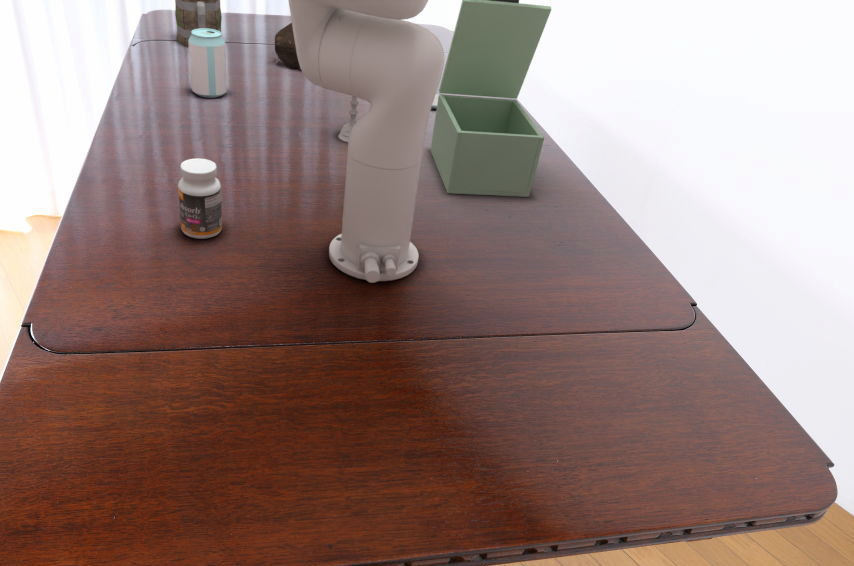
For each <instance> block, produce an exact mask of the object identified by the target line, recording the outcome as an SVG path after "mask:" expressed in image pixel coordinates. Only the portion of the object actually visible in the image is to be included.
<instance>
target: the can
mask: <svg viewBox="0 0 854 566" xmlns="http://www.w3.org/2000/svg"><path fill="white" fill-rule="evenodd" d="M191 33H192V35H191V36H190V38H189V40H188V42H189V47H188V54H189V55H188V56H189V68H190V69H189V70H190V85H191V91H192V92H193V93H195V95H198V96H199V97H203V98H207V99H208V98H209V99H211V98H212V99H214V98H220V97H222V96H224V95H225V94H226V93H227V92H228V77H227V75H228V73H227V51H226V50H227V48H226V47H227V46H226V40H225V39H224V37H223V36H222V35H223V33H222V31H221V32H220V31H218V30H214V29H207V28H200V29H194V30H192V31H191Z"/></svg>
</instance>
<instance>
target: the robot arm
mask: <svg viewBox="0 0 854 566" xmlns="http://www.w3.org/2000/svg"><path fill="white" fill-rule="evenodd" d="M428 2H429V0H288V5H289V6H288V7H289V13H290V17H291V18H290V19H291V23H292V26H293V33H294V39H295V46H296V52H297V57H298V62H299V65H300V68H301V69H300V70H301V73H302V74H303V76H304V78H306V79H307V81H308V82H310V83H311V84H313V85H315V86H317V87H320V88H322V89H325V90H329V91H332V92H336V93H339V94H344V95H348V96H351V97H352V96H354V97H357V99H359V100H363V101H366V102H368V103H369V104H370V107H369V109H368V110H367V111H366V112H365V113H364V114H363V115H362V116H361V117H360V118H358V119H357V121H356V123H355V124H354V126H353V127H352V129H351V132H350V135H349V140H348V142H347V155H346V170H345V182H344V183H345V184H344V198H343V207H342V208H343V210H342V223H341V224H342V225H341V233H340V234H338V235H336V236H335V237H334V238H332V240H331V241H330V242H329V247H328V257H329V260H330V262H331V263H332V265H333V266H335V267H336V268H337V270H339V271H341V272H342V273H344V274H346V275H348V276H351V277H352V278H355V279H359V280H364V281H367V282H368V283H371V284H374V283H377V282H388V281H389V282H390V281H395V280H399V279H403V278H404V277H407V276H409V275H410V274H411V273H413V272H414V271H415V269H416V268H417V267H418V263H419V258H420V257H419V256H420V255H419V251H418V249H417V247H416V246H415V244H414V243H413V242H411V236H412V235H411V234H412V231H413V223H414V215H415V208H416V201H417V195H418V188H419V181H420V173H421V168H422V167H421V166H422V162H423V161H422V159H423V152H424V145H425V140H426V133H427V129H428V124H429V119H430V116H431V111H432V109H431V107H432V104H433V101H434V97H435V94H437V92H438V88H439V86H440V83H441V82H440V81H441V79H442V76H443V72H444V64H445V52H444V51H445V50H444V47H443V44H442V42H441V40H440V39H439V37H438V36H437V35H436V34H435V33H434V32H433V31H431V30H430V29H428V28H426V27H424V26H422V25H420V24H418V23H415V22H413V21H412V22H411V21H408V20H409V19H412V18H413V19H414V18H415V17H417V16H418V15H420V13H421V12H422V13H423V11H424V9H425V8H426V6H427V4H428Z"/></svg>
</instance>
